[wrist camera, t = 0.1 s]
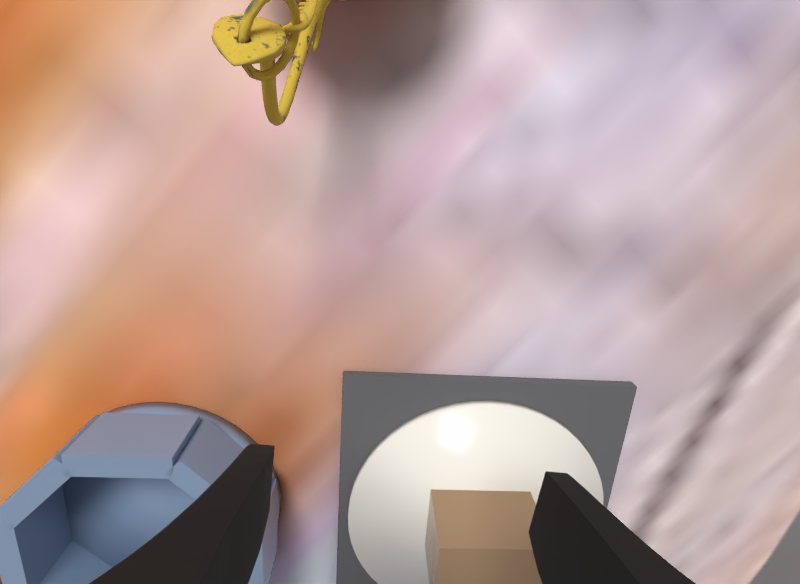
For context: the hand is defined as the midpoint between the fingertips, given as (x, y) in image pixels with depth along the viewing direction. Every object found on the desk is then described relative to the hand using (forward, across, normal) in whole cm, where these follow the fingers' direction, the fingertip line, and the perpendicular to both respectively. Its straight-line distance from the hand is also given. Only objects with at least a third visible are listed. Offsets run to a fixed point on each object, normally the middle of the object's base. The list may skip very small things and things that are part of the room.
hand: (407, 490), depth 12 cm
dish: (+10, +10, +10) cm, 17 cm away
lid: (+10, -5, +9) cm, 14 cm away
